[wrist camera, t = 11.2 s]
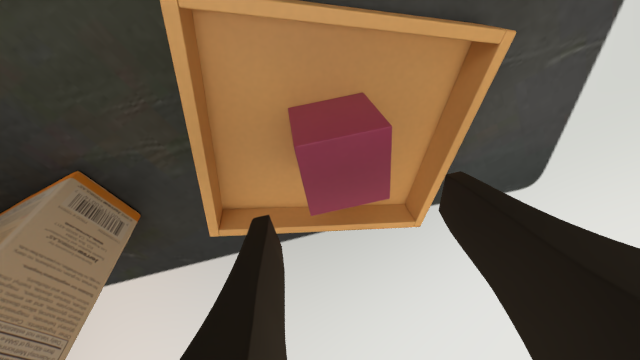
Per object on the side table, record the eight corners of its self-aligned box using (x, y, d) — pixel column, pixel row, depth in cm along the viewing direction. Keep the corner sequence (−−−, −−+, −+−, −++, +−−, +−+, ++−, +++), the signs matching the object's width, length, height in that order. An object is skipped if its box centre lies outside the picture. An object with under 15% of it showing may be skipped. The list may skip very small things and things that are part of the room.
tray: (216, 209, 19) (210, 237, 17) (176, -16, 11) (156, -15, 9) (406, 204, 22) (420, 227, 20) (481, 24, 14) (517, 31, 12)
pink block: (302, 169, 17) (311, 216, 14) (287, 107, 14) (293, 147, 11) (366, 155, 17) (390, 199, 14) (363, 91, 15) (393, 125, 11)
